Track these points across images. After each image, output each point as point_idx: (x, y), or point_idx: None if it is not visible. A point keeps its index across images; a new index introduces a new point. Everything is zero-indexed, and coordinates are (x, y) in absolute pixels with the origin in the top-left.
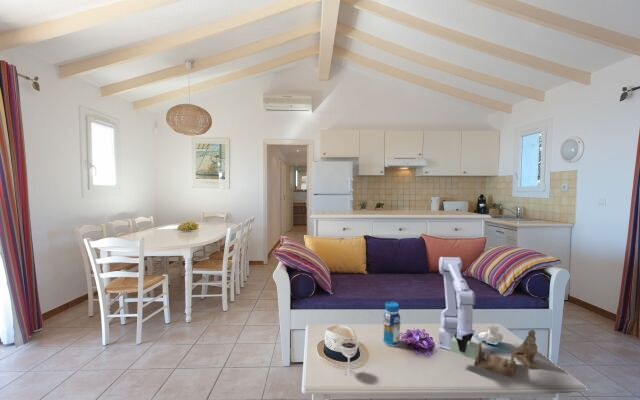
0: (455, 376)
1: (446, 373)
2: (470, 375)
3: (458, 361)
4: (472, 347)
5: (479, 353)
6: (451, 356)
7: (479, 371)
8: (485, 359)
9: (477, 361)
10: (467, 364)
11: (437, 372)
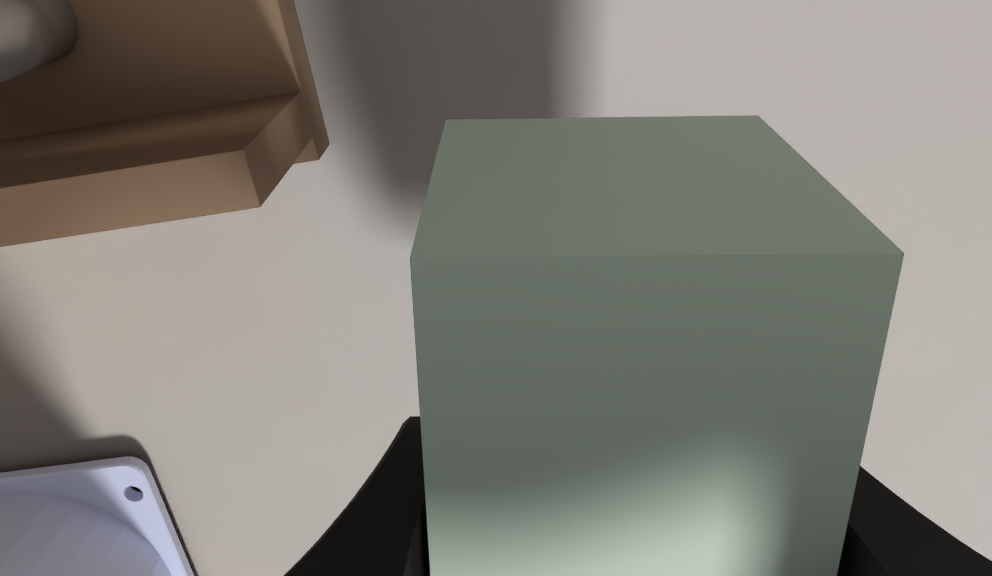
0: (908, 273)
1: (901, 395)
2: (718, 96)
3: (408, 375)
4: (869, 348)
5: (45, 161)
6: (344, 492)
7: (461, 7)
8: (46, 9)
9: (291, 116)
10: (386, 243)
11: (950, 489)
